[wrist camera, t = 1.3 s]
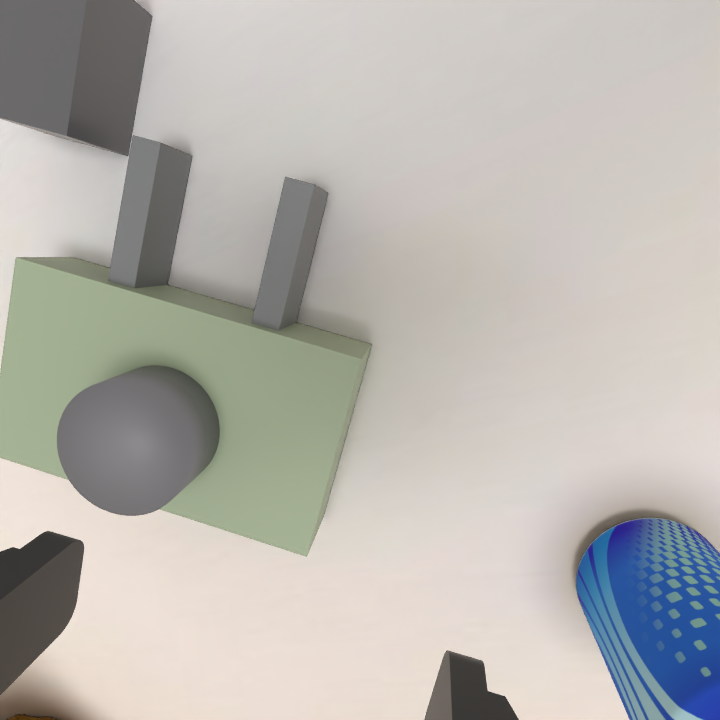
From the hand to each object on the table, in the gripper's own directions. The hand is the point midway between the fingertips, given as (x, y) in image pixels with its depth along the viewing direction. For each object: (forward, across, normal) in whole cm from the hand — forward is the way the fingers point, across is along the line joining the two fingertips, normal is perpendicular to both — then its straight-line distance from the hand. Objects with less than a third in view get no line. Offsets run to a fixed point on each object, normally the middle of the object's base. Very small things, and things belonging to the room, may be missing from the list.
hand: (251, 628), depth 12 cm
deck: (+23, +11, -1) cm, 26 cm away
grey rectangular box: (+24, +20, -14) cm, 34 cm away
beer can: (+24, -19, +7) cm, 31 cm away
